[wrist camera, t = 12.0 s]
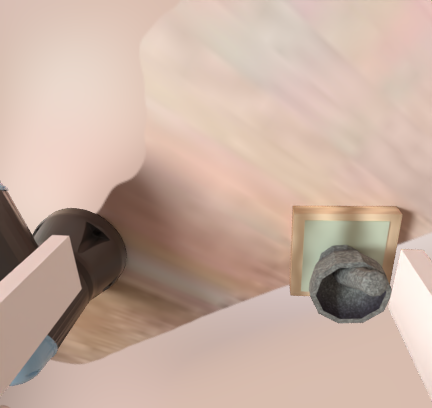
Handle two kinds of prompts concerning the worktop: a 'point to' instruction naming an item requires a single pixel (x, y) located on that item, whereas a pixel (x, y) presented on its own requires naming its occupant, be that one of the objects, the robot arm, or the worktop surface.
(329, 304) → the mortar and pestle
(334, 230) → the beige flat pad
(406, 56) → the worktop surface
